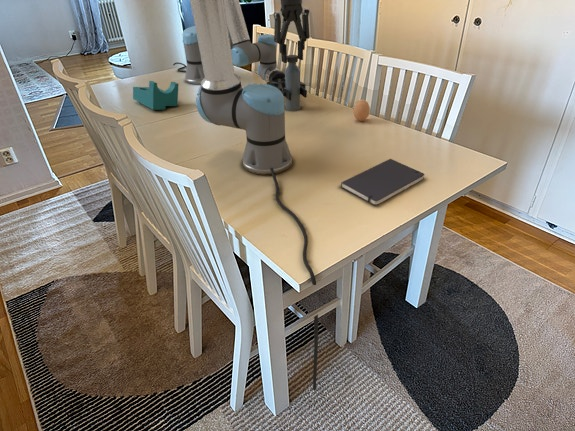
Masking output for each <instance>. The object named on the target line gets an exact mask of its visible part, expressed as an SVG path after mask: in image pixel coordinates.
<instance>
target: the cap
mask: <svg viewBox="0 0 575 431" xmlns="http://www.w3.org/2000/svg"><path fill="white" fill-rule="evenodd" d="M298 61H299V59H298V54H287V63H288V64H289V63H295V62H296V63H298Z"/></svg>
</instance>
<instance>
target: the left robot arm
mask: <svg viewBox="0 0 575 431" xmlns="http://www.w3.org/2000/svg"><path fill="white" fill-rule="evenodd" d="M224 4H225V11H226V18H227V25H228V32H229V39H230V46H231V53H232V60H233V66H235V67H239V68H240V67H245V66H246V67H247V66H248V65H252V64H255V63H259V64H258V66H257V71H256V72H257V75H258V76H259V77H260V79H261V80H263V81H264V82H266V84H267V85H271V86H274V87H276V88H278V89H279V90H280V91H281V92H282V94H283V96H284V98H285V99H286V98H287V99H288V100H291V93H290V92H289V91H288V90H286V89H285V72H284V71H282V70H280V69H279V68H278V63H277V43H276V42H274V35H273V34H269V33H265V34H260V35H259V36H258V37H257V42H256V41H255V42H253V43H252V42H251V38H250V35H249V32H248V28H247V24H246V21H245V17H244V14H243V11H242V6H241V3H240V0H224ZM181 35H182V44H183V49H184V55H185V61H186V64H185V63H183V62H177V61H176V62H174V63H173V64H172V66H175V65H180V66H182V67H179V68H177V71H178V72H180V73H185V76H184V79H185V82H186V83H188V84H190V85H201V81H202V80H203V79H204V77H205V76H204V71H203V65H202V60H201V55H200V50H199V44H198V39H197V34H196V29H195V25H193V26H189V27H187V28H185V29H184V30H183V31H182V34H181ZM183 69H186V70H183ZM306 87H307V86H306V83H304V82H302V81H301V80H300V96H302V97H303V98H307V97H308V90H307V89H306Z"/></svg>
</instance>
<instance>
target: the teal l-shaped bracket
mask: <svg viewBox="0 0 575 431" xmlns="http://www.w3.org/2000/svg"><path fill="white" fill-rule="evenodd" d="M132 100H134V101H136V102H138V103H140V104H142V105H144V106H145V107H147V108H148V109H151V110H153V111H155V110H157V111H159V110H160V111H163V110H164V111H165V110H166V107H178V100H179V83H178V82H176V81H170V85H169V87H168V88H167V89H166V90H163V89H162V88H159V87H158V82H156V81H154V80H149V81H148V86H132Z"/></svg>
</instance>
